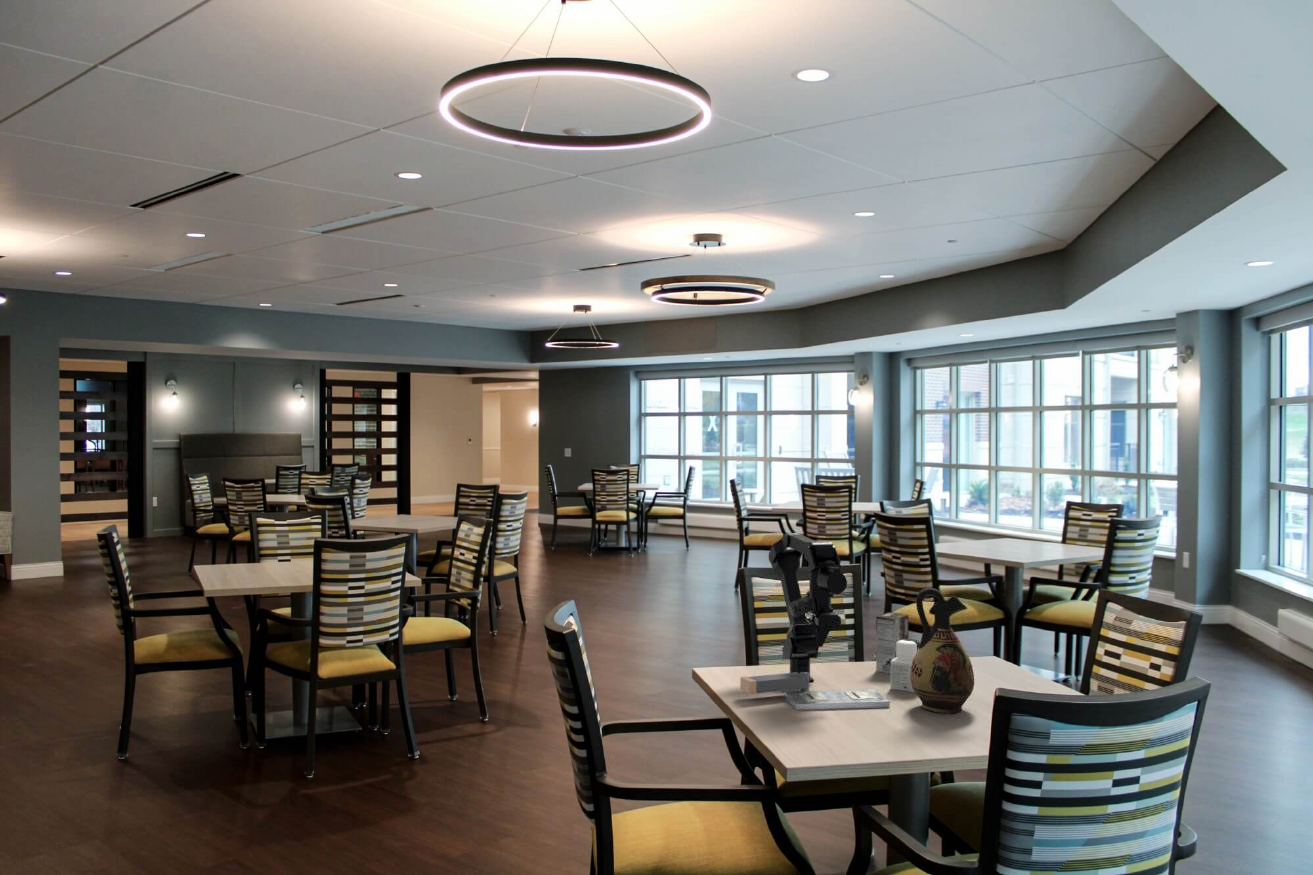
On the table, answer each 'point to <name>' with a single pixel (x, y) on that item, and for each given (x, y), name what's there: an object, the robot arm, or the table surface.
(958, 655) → the ceramic jug
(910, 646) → the container
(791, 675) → the swing bar
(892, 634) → the coffee box
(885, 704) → the panel
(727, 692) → the table surface
